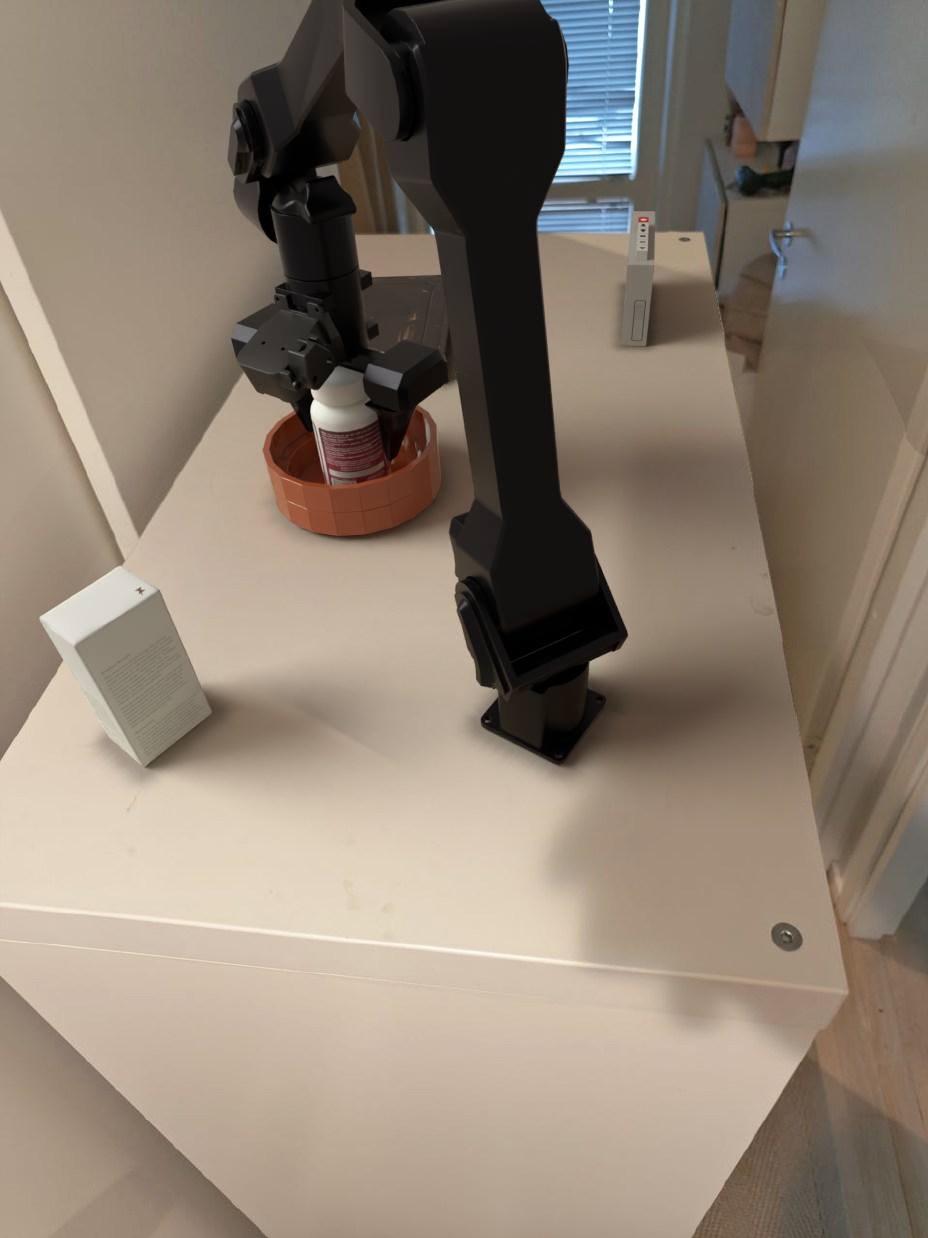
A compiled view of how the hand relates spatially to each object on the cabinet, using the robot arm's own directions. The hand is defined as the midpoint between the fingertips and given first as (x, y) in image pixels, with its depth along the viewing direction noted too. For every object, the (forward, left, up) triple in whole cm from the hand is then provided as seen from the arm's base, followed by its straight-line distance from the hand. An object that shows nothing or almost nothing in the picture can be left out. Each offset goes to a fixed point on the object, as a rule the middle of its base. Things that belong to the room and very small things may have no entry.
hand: (351, 443), depth 75 cm
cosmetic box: (-29, -6, -5) cm, 30 cm away
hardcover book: (+25, +17, -5) cm, 31 cm away
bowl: (0, 0, -5) cm, 5 cm away
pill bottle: (0, 0, -4) cm, 4 cm away
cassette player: (+44, -6, -5) cm, 45 cm away
